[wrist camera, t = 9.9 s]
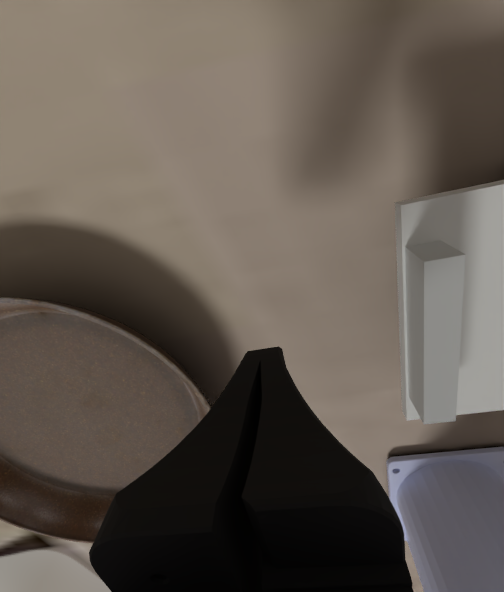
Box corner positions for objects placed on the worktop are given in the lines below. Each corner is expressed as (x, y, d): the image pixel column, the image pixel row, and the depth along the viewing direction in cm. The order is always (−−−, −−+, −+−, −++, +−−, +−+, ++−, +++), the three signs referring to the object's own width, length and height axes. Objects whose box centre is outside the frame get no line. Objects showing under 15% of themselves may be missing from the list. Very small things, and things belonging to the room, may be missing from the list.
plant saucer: (184, 247, 17) (165, 270, 14) (255, 495, 25) (253, 542, 22) (-133, 301, 20) (-207, 329, 17) (27, 507, 28) (-2, 550, 25)
